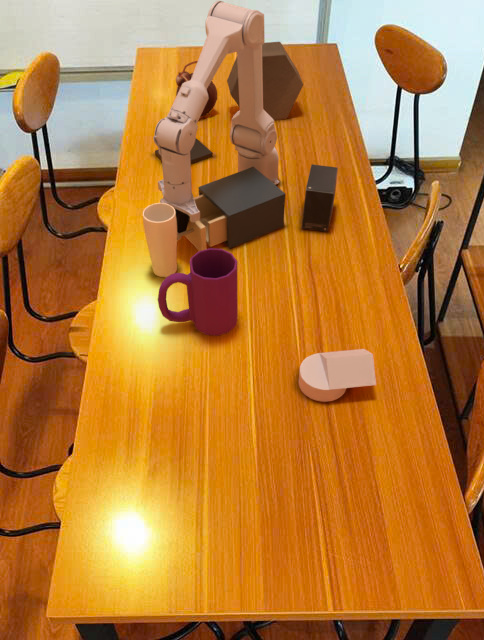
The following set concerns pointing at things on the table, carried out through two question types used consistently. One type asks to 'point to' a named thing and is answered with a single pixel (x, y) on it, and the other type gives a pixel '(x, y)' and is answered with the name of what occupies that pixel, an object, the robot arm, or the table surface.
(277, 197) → the drawer cabinet
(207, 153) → the control block
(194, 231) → the drawer
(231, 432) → the table surface
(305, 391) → the wedge on round base
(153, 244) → the drinking glass
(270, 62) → the dark hexagonal block
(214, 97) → the alarm clock
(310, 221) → the small box
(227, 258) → the mug
